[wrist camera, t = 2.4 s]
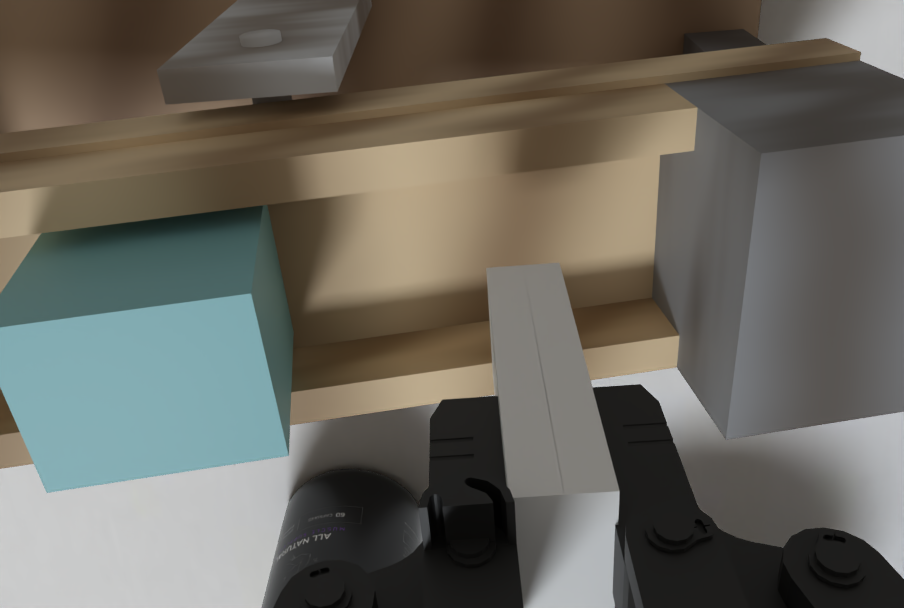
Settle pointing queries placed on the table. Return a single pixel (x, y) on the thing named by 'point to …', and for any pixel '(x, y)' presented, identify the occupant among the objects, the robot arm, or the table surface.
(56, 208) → the beam
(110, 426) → the block
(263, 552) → the table surface
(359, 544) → the supplement bottle
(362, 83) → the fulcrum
